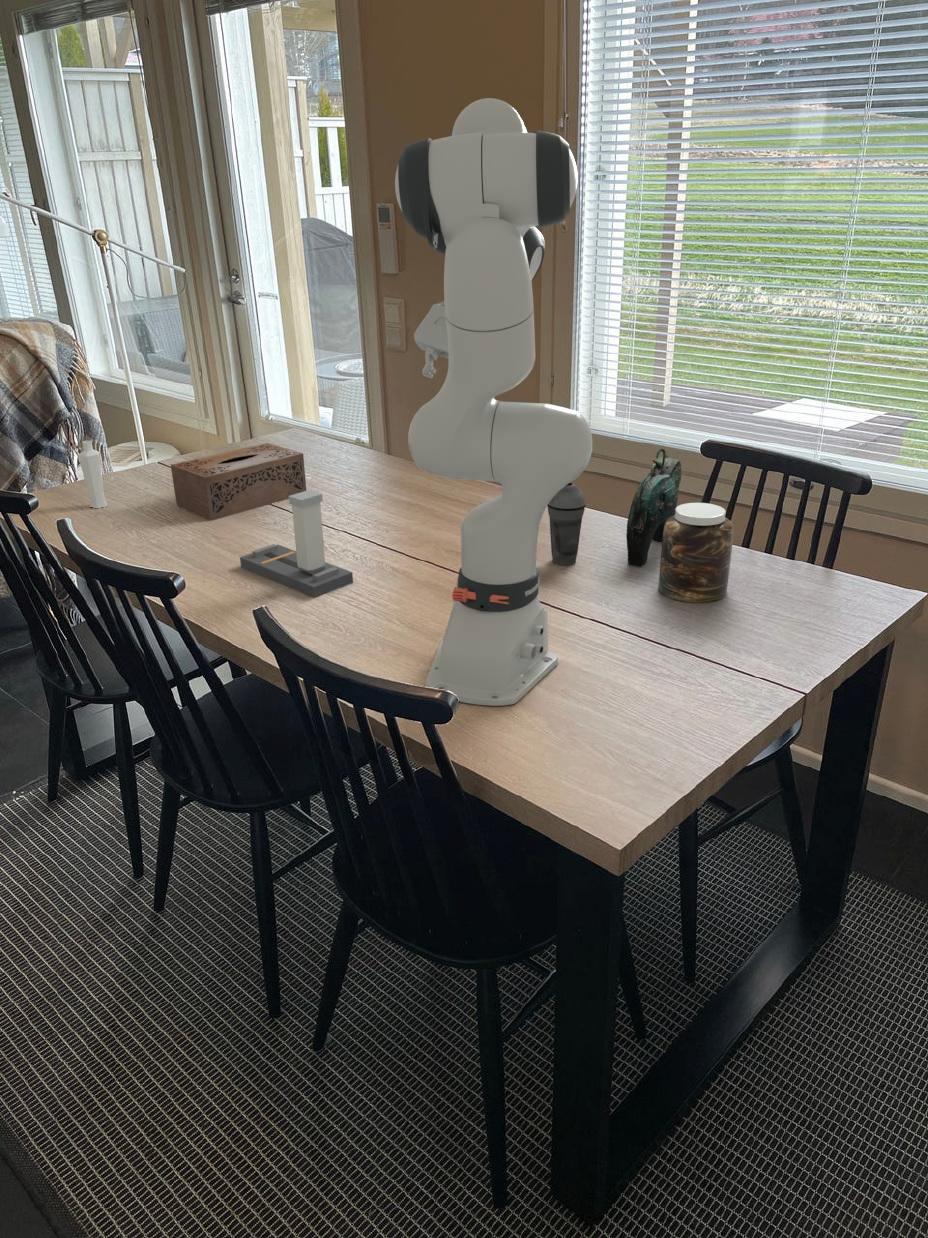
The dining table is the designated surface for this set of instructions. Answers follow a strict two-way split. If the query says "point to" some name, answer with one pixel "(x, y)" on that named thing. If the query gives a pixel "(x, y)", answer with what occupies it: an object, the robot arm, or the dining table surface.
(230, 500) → the tissue box cover
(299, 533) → the fader tab
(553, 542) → the beverage cup
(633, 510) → the dark green arched sculpture
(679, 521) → the jar
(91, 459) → the perfume bottle
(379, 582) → the dining table surface
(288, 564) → the fader console
